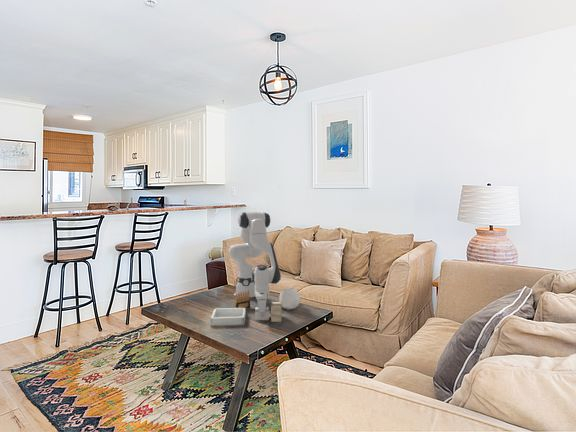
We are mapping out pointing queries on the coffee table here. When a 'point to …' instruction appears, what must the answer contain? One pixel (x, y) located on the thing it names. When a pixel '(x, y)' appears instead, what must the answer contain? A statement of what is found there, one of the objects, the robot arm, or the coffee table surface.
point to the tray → (228, 316)
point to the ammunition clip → (242, 300)
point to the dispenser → (275, 311)
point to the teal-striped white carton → (258, 315)
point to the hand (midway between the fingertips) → (262, 315)
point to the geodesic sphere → (289, 298)
